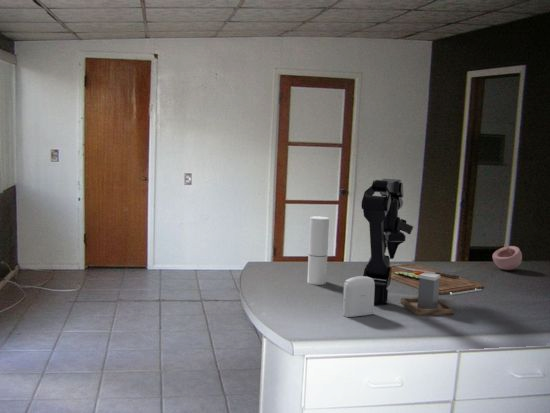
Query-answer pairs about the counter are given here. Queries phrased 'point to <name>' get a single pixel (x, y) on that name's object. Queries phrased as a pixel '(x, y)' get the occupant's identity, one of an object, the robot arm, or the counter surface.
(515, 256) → the pink round bowl
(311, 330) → the counter surface
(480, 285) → the chopping board
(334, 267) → the counter surface
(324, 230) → the cylindrical container
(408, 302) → the walnut tray
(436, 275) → the grey upright rectangular prism
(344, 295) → the white tombstone-shaped block
